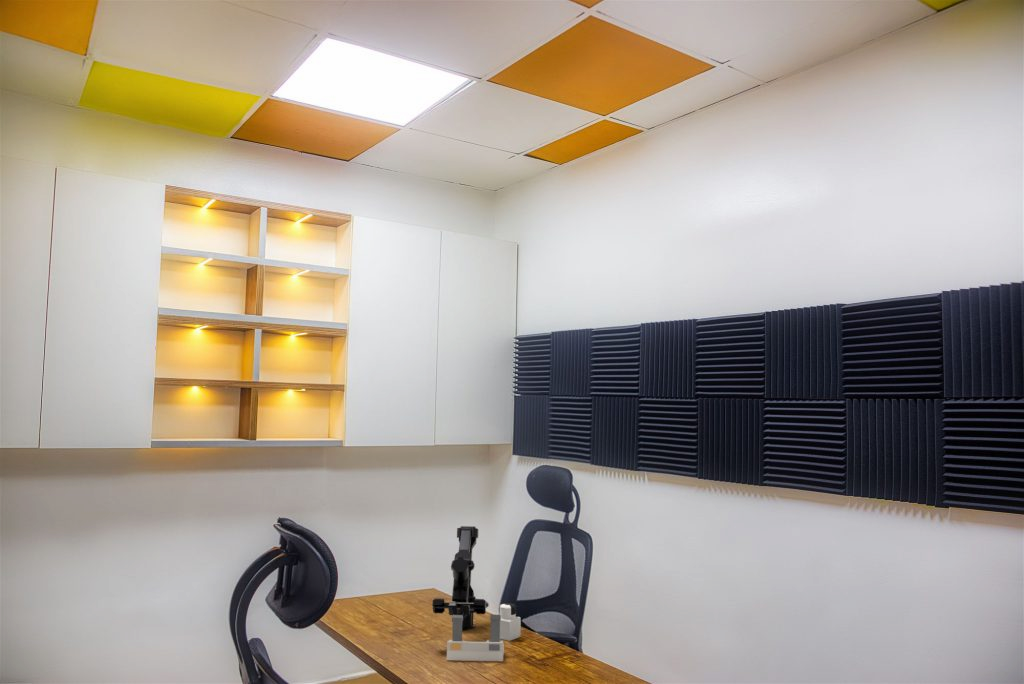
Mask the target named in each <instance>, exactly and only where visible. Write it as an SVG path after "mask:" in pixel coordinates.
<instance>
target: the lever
mask: <svg viewBox="0 0 1024 684" xmlns="http://www.w3.org/2000/svg"><path fill="white" fill-rule="evenodd" d="M489 616H490V617H489V619H490V632H489V633H490V637H489V642H501V639H500V620H501V615H500V614H490V615H489Z"/></svg>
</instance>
